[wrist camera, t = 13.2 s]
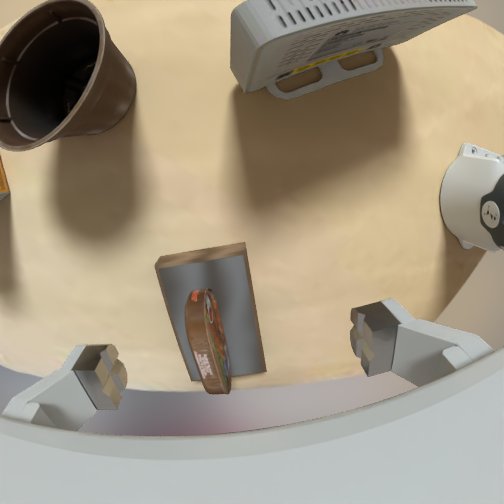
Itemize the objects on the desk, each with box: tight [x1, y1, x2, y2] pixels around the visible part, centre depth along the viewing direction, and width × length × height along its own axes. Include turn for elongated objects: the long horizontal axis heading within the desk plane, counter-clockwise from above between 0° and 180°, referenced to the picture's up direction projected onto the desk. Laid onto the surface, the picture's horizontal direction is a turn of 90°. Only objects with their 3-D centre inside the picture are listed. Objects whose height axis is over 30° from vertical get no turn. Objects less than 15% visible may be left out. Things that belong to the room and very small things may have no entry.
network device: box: [230, 0, 477, 100], centre depth 24 cm, size 26×9×20 cm, turn 116°
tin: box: [184, 288, 231, 394], centre depth 36 cm, size 15×3×8 cm, turn 8°
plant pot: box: [0, 0, 136, 151], centre depth 25 cm, size 16×16×16 cm
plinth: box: [155, 242, 267, 381], centre depth 42 cm, size 12×20×4 cm, turn 8°
